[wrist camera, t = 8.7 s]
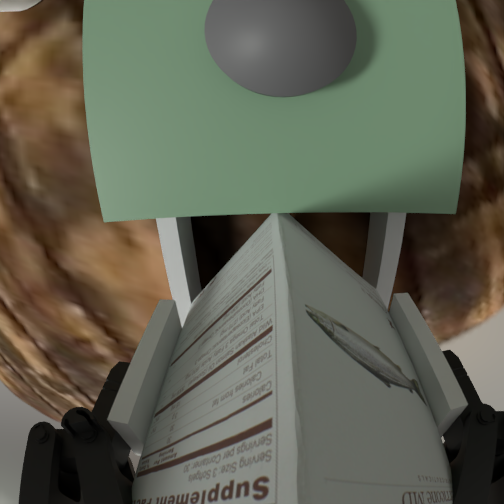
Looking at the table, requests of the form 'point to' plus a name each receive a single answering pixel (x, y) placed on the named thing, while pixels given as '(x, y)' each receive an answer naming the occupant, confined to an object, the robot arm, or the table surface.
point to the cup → (16, 5)
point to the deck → (274, 116)
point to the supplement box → (291, 390)
